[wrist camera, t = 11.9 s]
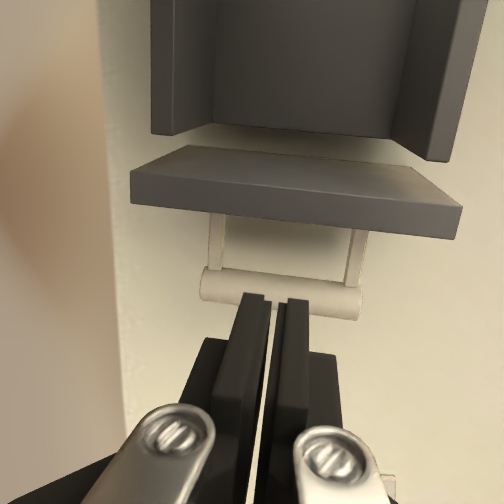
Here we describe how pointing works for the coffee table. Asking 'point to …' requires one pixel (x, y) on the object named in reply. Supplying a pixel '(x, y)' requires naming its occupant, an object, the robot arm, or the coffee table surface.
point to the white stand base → (389, 485)
